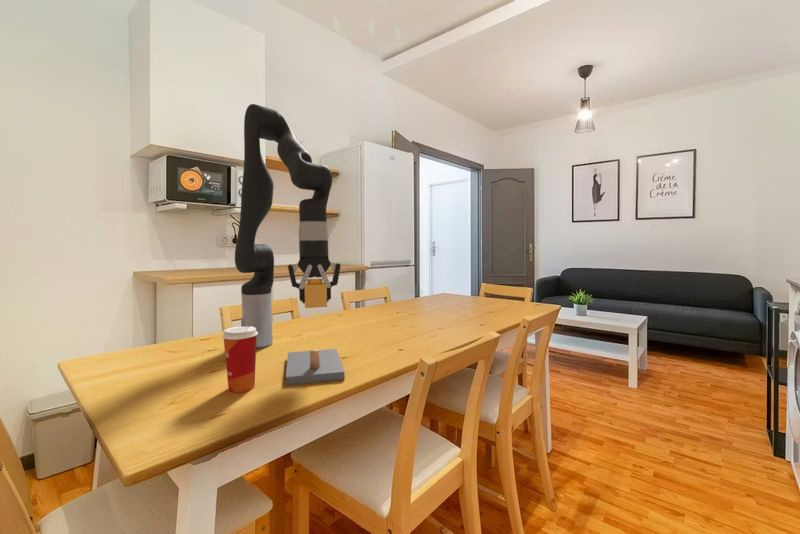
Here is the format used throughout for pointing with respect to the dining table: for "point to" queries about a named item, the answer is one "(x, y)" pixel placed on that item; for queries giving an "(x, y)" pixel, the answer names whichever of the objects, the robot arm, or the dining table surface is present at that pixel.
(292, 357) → the board
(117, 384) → the dining table surface
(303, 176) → the robot arm
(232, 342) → the paper cup
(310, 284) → the orange toy brick
